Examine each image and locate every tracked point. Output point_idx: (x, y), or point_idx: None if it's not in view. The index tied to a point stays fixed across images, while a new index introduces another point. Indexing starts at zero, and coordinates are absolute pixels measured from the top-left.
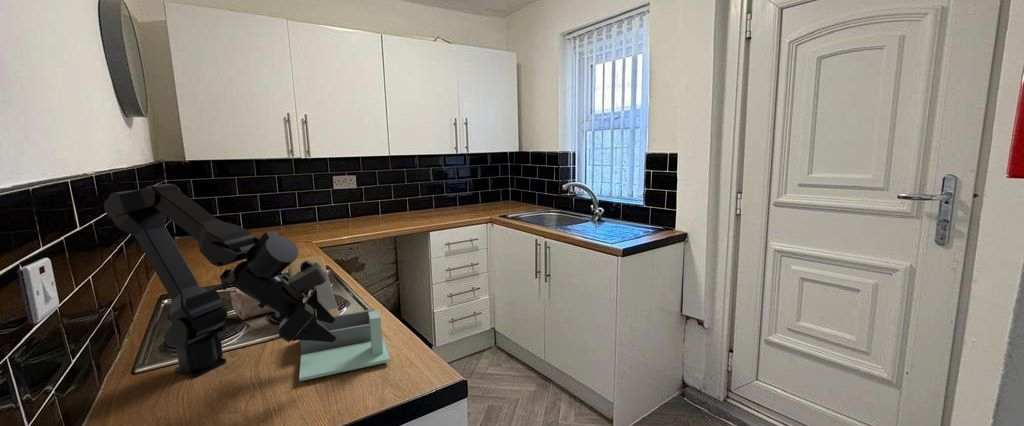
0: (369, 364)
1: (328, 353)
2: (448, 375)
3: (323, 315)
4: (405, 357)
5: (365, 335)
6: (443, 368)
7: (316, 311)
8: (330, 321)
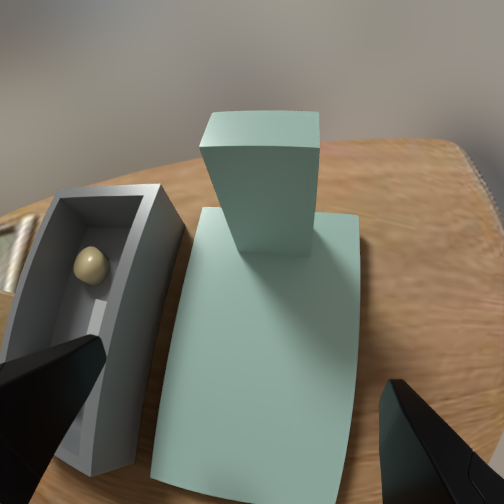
0: (359, 279)
1: (194, 400)
2: (439, 143)
3: (59, 393)
4: (327, 184)
5: (159, 250)
6: (411, 140)
7: (26, 427)
8: (98, 364)
